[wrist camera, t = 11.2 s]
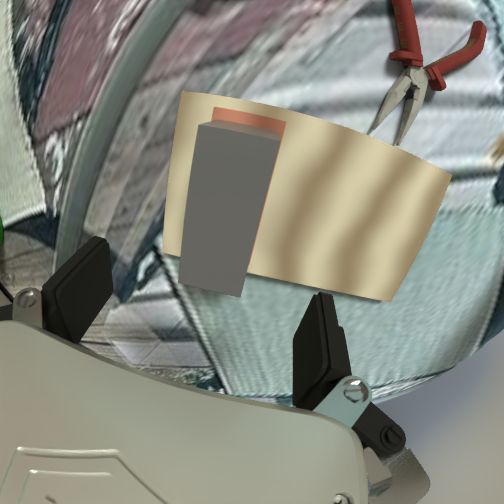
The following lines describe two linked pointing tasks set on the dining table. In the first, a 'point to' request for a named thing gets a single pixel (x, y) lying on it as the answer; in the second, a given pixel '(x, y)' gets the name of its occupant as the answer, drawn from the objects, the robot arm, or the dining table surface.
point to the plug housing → (225, 203)
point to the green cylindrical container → (1, 232)
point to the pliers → (414, 62)
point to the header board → (320, 199)
